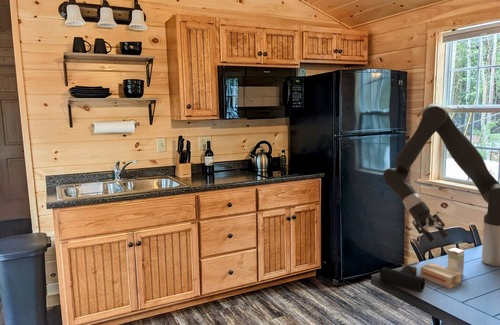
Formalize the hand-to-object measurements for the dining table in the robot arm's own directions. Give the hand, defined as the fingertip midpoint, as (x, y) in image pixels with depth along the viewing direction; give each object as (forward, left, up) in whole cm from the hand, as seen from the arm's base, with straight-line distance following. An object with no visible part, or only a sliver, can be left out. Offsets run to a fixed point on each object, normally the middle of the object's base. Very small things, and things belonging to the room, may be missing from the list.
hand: (439, 239), depth 154 cm
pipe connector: (+22, +1, -13) cm, 25 cm away
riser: (+9, +7, -12) cm, 17 cm away
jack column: (0, +7, -12) cm, 14 cm away
